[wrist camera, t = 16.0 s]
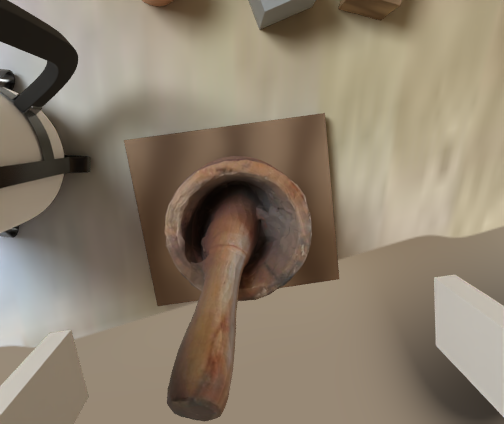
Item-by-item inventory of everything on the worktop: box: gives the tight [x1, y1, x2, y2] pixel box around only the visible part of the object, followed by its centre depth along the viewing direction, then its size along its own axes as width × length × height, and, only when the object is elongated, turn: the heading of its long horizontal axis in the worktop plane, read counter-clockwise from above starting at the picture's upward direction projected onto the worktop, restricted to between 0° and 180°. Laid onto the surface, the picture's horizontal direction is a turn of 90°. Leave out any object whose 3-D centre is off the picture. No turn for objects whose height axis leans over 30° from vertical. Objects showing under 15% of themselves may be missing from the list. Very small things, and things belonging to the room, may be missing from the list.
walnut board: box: [124, 113, 339, 306], centre depth 35 cm, size 18×16×2 cm
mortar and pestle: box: [164, 156, 312, 421], centre depth 25 cm, size 12×9×20 cm
